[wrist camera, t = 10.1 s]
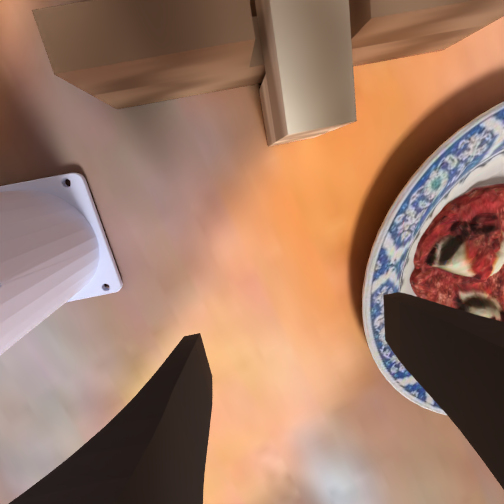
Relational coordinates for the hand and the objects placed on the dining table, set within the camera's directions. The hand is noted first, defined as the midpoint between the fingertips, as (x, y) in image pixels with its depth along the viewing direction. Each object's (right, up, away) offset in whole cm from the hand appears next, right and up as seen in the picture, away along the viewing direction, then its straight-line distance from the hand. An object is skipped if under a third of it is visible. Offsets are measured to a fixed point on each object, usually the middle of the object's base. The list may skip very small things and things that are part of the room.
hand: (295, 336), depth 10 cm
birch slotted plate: (0, +15, +5) cm, 16 cm away
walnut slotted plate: (0, +15, +5) cm, 16 cm away
